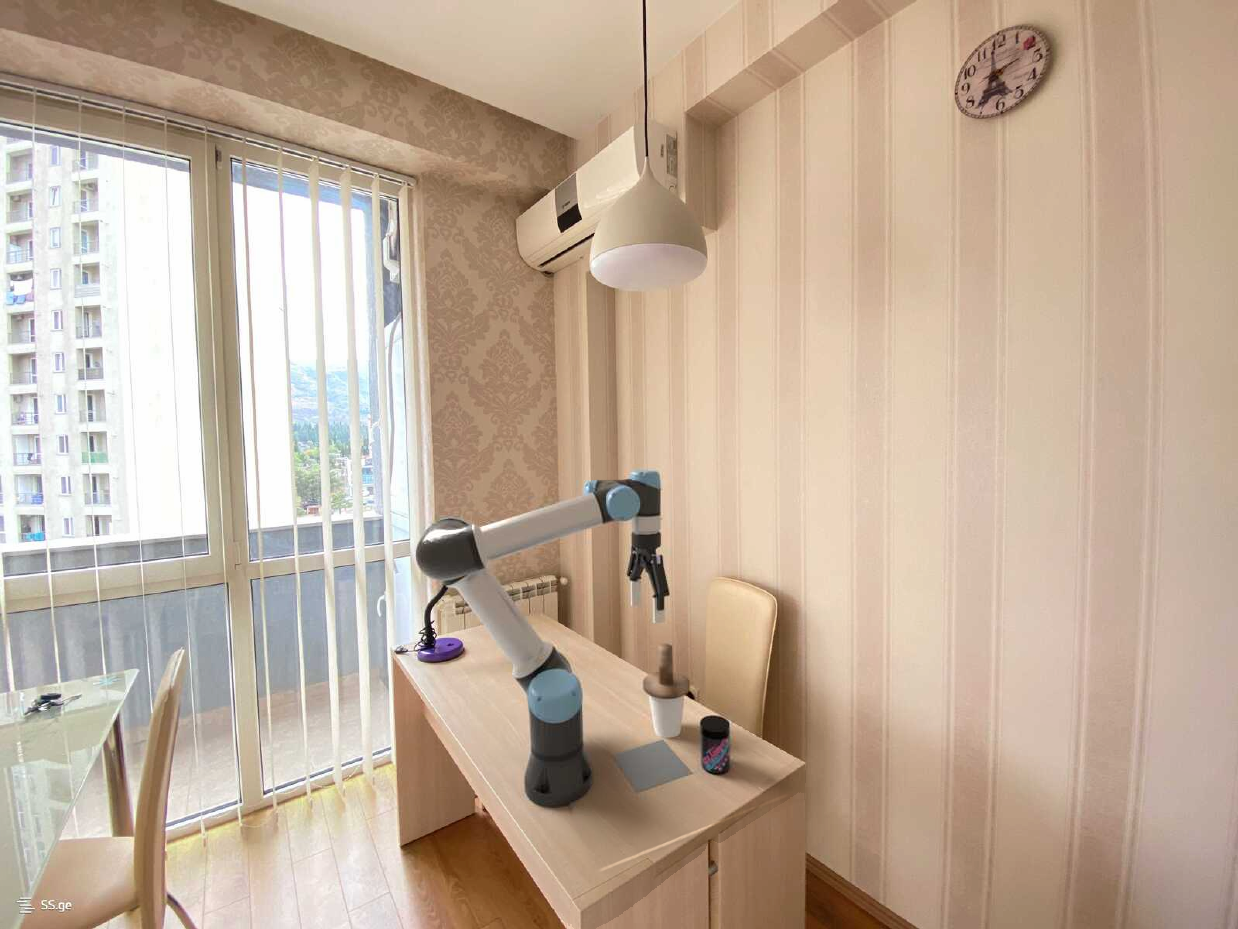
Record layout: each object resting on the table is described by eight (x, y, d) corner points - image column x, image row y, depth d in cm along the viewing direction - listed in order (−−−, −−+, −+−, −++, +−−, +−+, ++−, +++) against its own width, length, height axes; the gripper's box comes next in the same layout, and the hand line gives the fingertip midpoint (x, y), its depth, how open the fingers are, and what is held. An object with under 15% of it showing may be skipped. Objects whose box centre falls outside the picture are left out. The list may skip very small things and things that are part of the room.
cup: (683, 743, 126) (682, 697, 125) (647, 740, 127) (646, 694, 127) (686, 723, 134) (685, 679, 134) (652, 720, 136) (651, 677, 136)
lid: (656, 703, 122) (655, 661, 122) (635, 681, 133) (634, 643, 133) (699, 691, 127) (698, 651, 126) (674, 671, 138) (673, 634, 137)
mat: (636, 794, 109) (636, 792, 109) (611, 757, 121) (611, 755, 121) (692, 775, 114) (692, 773, 114) (662, 741, 127) (662, 739, 127)
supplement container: (695, 770, 116) (694, 726, 115) (708, 754, 121) (707, 712, 121) (723, 781, 112) (722, 735, 111) (735, 764, 117) (734, 721, 117)
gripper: (683, 539, 118) (684, 628, 120) (639, 522, 142) (640, 597, 143) (654, 542, 116) (655, 633, 117) (614, 524, 139) (615, 600, 140)
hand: (647, 613), depth 130 cm, fingers open, 13 cm apart
